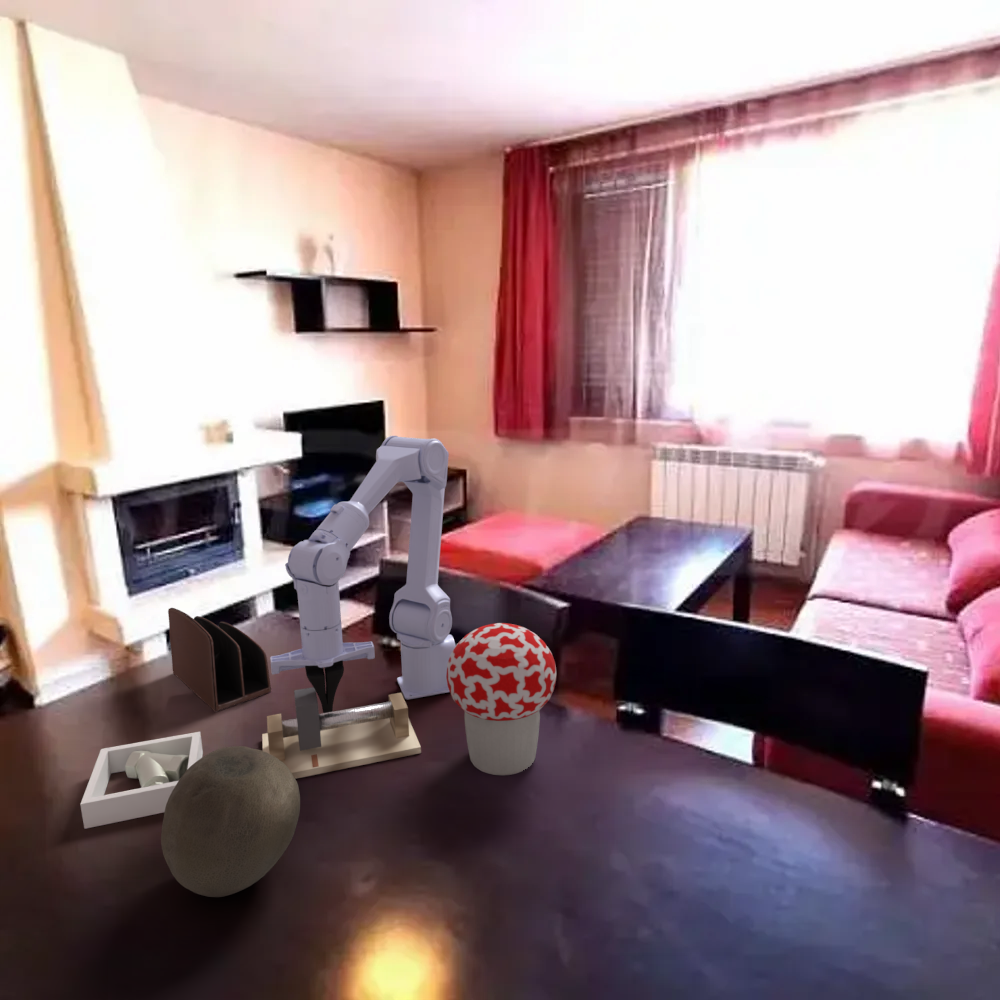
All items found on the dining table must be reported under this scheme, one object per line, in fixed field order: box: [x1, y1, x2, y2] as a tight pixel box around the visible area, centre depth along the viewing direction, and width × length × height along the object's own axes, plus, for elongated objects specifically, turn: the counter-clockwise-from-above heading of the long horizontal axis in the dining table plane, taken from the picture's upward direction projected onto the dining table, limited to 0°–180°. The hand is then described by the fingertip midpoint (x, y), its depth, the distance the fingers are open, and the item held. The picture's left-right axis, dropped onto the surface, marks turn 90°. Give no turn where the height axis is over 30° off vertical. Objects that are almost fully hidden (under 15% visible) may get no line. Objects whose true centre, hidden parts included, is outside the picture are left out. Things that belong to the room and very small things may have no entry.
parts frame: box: [79, 731, 204, 830], centre depth 95 cm, size 13×13×4 cm
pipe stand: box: [261, 692, 422, 780], centre depth 104 cm, size 22×12×6 cm, turn 109°
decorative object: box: [446, 622, 557, 776], centre depth 100 cm, size 16×16×20 cm
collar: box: [293, 686, 321, 751], centre depth 102 cm, size 3×5×7 cm, turn 19°
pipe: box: [282, 701, 393, 738], centre depth 104 cm, size 20×3×3 cm, turn 109°
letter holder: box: [167, 607, 272, 713], centre depth 124 cm, size 10×20×14 cm, turn 43°
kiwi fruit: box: [160, 745, 301, 898], centre depth 78 cm, size 14×14×15 cm
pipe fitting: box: [125, 751, 189, 788], centre depth 96 cm, size 8×4×7 cm
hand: (327, 709), depth 103 cm, fingers closed
